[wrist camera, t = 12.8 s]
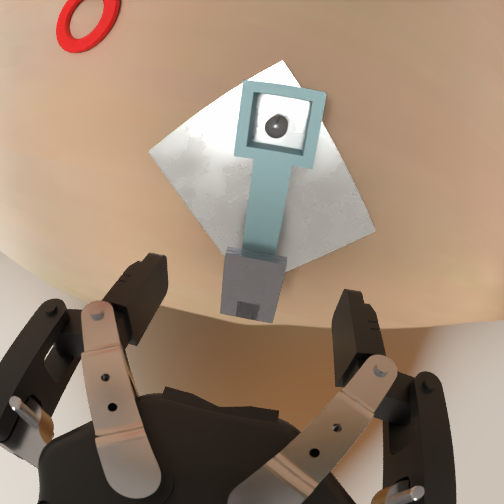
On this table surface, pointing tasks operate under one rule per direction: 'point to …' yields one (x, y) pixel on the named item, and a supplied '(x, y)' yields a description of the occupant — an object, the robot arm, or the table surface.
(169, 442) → the robot arm
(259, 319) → the block
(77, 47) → the tow hook
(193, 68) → the table surface
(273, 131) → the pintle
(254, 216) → the link
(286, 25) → the table surface
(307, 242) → the board
